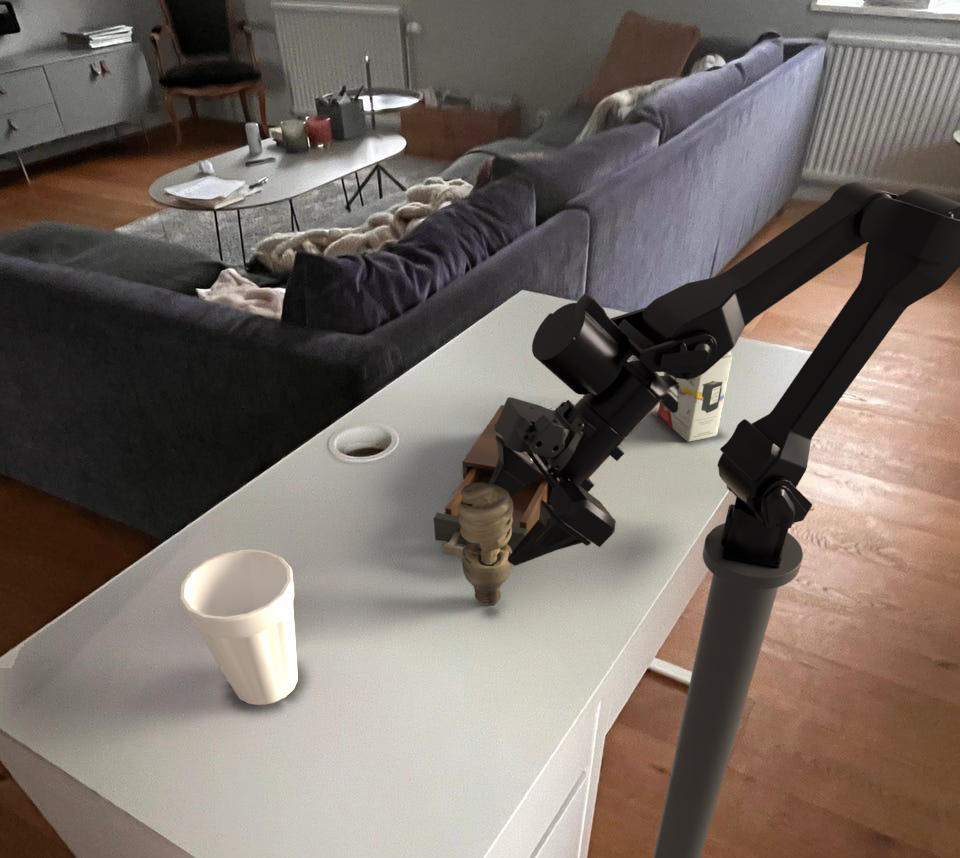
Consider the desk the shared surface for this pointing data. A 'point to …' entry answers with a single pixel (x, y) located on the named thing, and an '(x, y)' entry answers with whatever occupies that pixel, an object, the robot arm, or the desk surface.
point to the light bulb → (486, 538)
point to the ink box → (699, 402)
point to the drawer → (523, 513)
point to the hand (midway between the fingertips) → (495, 536)
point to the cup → (246, 621)
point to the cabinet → (486, 450)
